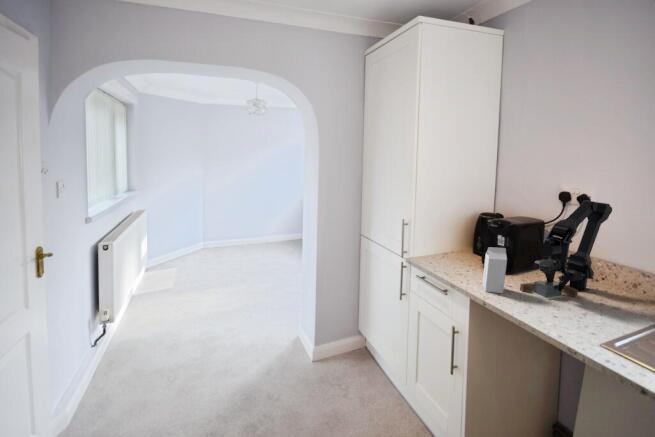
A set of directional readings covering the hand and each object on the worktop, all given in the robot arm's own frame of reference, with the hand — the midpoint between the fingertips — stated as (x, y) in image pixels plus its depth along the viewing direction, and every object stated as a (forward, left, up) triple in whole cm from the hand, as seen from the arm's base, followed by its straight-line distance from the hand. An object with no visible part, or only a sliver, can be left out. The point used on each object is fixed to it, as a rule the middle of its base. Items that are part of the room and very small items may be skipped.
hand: (554, 289), depth 158 cm
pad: (+2, -1, -3) cm, 4 cm away
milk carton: (+21, -12, -3) cm, 25 cm away
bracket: (+2, -2, -2) cm, 3 cm away
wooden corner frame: (+2, -1, -3) cm, 4 cm away
